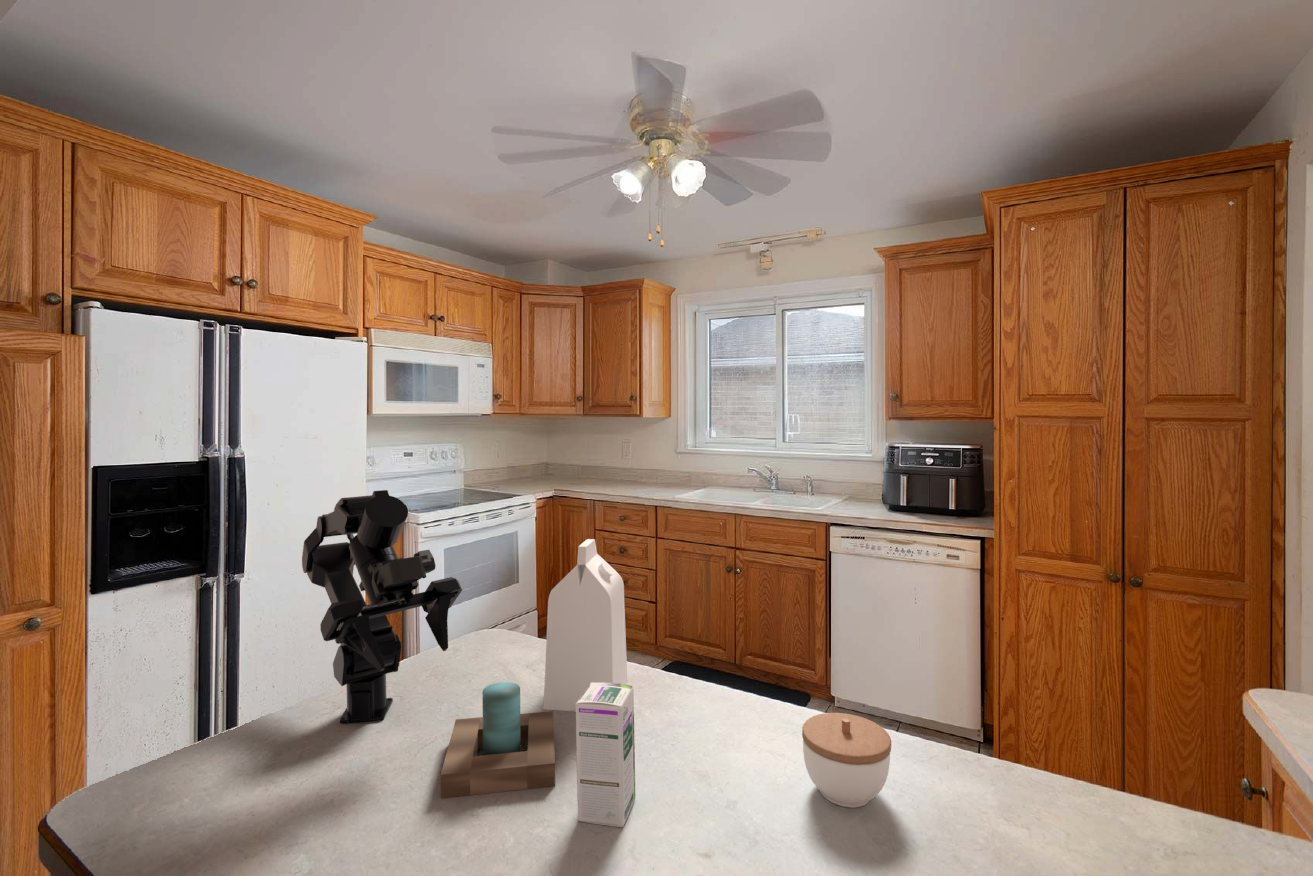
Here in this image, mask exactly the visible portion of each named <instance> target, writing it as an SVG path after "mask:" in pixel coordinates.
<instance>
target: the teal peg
mask: <svg viewBox="0 0 1313 876" xmlns="http://www.w3.org/2000/svg"><path fill="white" fill-rule="evenodd" d="M481 693H482V717H483V750H482V755H492V754H503V753H513V752H522V750H521V749H522V746H521V734H520V714H521V687H520V685H519V684H517V683H515V682H511V681H502V682H501V681H499V682H496V683H495V682H494V683H492V684H489V685H488V686H485V687H484V688H483V689H482V692H481Z"/></svg>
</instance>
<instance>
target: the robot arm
mask: <svg viewBox="0 0 1313 876" xmlns="http://www.w3.org/2000/svg"><path fill="white" fill-rule="evenodd" d="M408 515H409V509H408V505H406V504H405V503H404V502H403V501H402V500H401V499H399V498H398V497H396V496H392V495H390V493H389V491H388V490H387V489H383V490H373V492H372V495H361V496H349V497H341V498H340V499H339V500H338V501H337V503H336V504H335V505H334V508H333V511H331V512H329V513H326V514H325V513H324V514H322V515H319V516H317V519H316V520H317V521H316V526H315V528H314V530H312V531H311V533H310V534H309V535H308V536H307V538H305V540H304V541H303V545H302V547H303V549H302V556H301V567H302V571H303V573H304V574H306V575H307V577H308V578H309V581H310V582H311V584H313V585H315V586H316V585H317V586H318V587H322V588H324V589H325V592H326V594H327V596H328V599H329V601H330V606H329V607H328V608H327V610H326V611H325V612H326V613H325V614H324V616H323V618H322V621H321V622H320V633H321V636H322V639H323V641H325V642H330V641H333V640H334V642H335V644H337V645H339V646H338V647H337V651H336V653H335V656H334V659H333V662H332V669H333V677H334V679H335V680H336V681H337V682H338V683H339V685H340V686H341V687H344V686H346V708H345V710H344V712H343V713H342V714H341V716H340V717H339V723H341V724H342V723H343V724H346V723H357V722H369V721H379V720H380V721H381V720H384V719H385V718H386V715H387V714H388V712H389V710H390V708H391V706H392V704H393V701H394V698H392V697H387V674H391V673H397V672H399V667H400V662H401V652H402V646H403V642H402V641H401V640H400V638H399V637H400V636H399V634H397V633H395V632H394V630H393V625H391V624H390V623H391V622H389V619H388V617H387V616H388V615H391V614H395V613H399V612H403V611H407V610H411V609H415V608H419V607H422V610H423V611H424V612H425V613H427V614H426V616H425V621H426V623H427V625H428V627H429V628H430V630H431V632H432V634H433V637H434V638H435V640H436V642H437V645H438V646H439V648H440V649H441V650H442V652H446V651H447V650H448V648H449V634H448V633H449V631H448V629H449V628H448V618H449V617H448V615H449V609H450V608H452V606H453V605H454V603H455V602H456V600H457V598H458V597H459V596H460V594H461V593H462V591H463V588H462V585H461V583H460V582H459V580H458V579H457V578H455V577H453V576H451V577H450V576H449V577H446V578H442V579H441V578H440V579H437V580H432V581H430V583H429V584H428V586H427V588H426V590H425V591H421V592H418V593H415V594H414V593H413V590H417V588H418V587H419V582H418V581H419V580H421V579H426V578H427V574H428V573H431V572H433V571H435V569H436V561H435V558H434V555H433V553H432V552H431V550H430V549H425V550H424V549H423V550H419V551H418V552H416V553H414V554H413V556H410V557H405V558H404V557H400V558H399V557H398V554H397V551H396V550H395V547H394V545H395V544H396V543H398V540H399V538H400V536H401V533H402V532H403V529H404V526H405V524H406V521H407V518H408ZM355 534H356V535H355ZM345 535H346V537H347V539H348V540H349V542H348V541H346V542H345V541H344V542H338V543H329V544H322V543H323V542H324V539H325V538H328V537H335V536H338V537H339V536H345ZM354 535H355V536H354ZM354 568H356V570H357V572H358V576H359V578H360V583H359V585H358V583H357V581H356V580H355V577H354ZM363 591H364V592H365V594H366V596H367V600H368V602H369V604H367V602H366V601H365V598H364V597H363V594H362V592H363Z"/></svg>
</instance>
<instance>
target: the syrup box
mask: <svg viewBox="0 0 1313 876" xmlns="http://www.w3.org/2000/svg"><path fill="white" fill-rule="evenodd" d="M634 692H635V691H634V686H633V685H629V684H626V685H624V684H618V683H593V682H591V683H590V685H589V687H588V688H587V690H586V691H585V692H584V693H583V694H582V696H581V697H580V699H579V700H578V701H577V703H576V704H575V705H576V711H575V737H576V738H575V740H576V741H575V742H576V745H575V747H576V748H575V750H576V781H577V782H576V786H577V787H576V788H577V789H576V790H577V793H576V795H577V820H578V821H580V822H583V823H589V824H594V825H602V826H609V827H618V828H624V827H625V823H626V821H627V820H628V818H629V814H630V812H631V810H632V807H633V805H634V802H635V800H636V764H635V763H636V760H635V759H636V758H635V757H636V755H635V754H636V753H635V747H636V745H635V709H634V708H635V707H634V705H635V701H634Z"/></svg>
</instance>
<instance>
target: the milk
mask: <svg viewBox="0 0 1313 876" xmlns="http://www.w3.org/2000/svg"><path fill="white" fill-rule="evenodd" d="M577 547H578V548H577V549H578V550H577V561H576V562H577V563H576V565H575V566H574V567H573V568H572V569H570V571H569V572H568V573H567V574H566V575H565V576H564V577H563V578H562V579H561V580H560V581H559V582H558V583H557V584H556V585H555V586H554V587H553V588H552V589H551V590H550V593H549V595H548V599H547V600H548V601H547V616H546V617H547V618H546V619H547V620H546V643H545V645H546V646H545V665H544V667H545V668H544V687H543V689H544V690H543V691H544V692H543V710H547V711H548V710H550V711H562V712H576V705H575V704H576V703H577V701H578V700H579V699H580V697H581V696H582V694H583V693H584V692H585V691H586V690H587V688H588V687H589V685H590V683H591V682H593V683H618V684H624V685H628V684H627V683H628V664H627V663H628V659H627V640H626V639H627V638H626V637H627V634H626V609H625V607H626V605H625V585H624V580H623V577H622V576H621V575H620V574H619V573H618V571H616V569H615V568H613V567H612V566H611V564H609V563H608V562H607V561H606V560H605V559H604V558H602V556H601V555H600V554H598V551H597V550H598V549H597V545H596V539H595V538H592V539H591V538H588V539H587V538H586V539H585V541H583V542H582V543H581V544H579V545H578V546H577Z"/></svg>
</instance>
